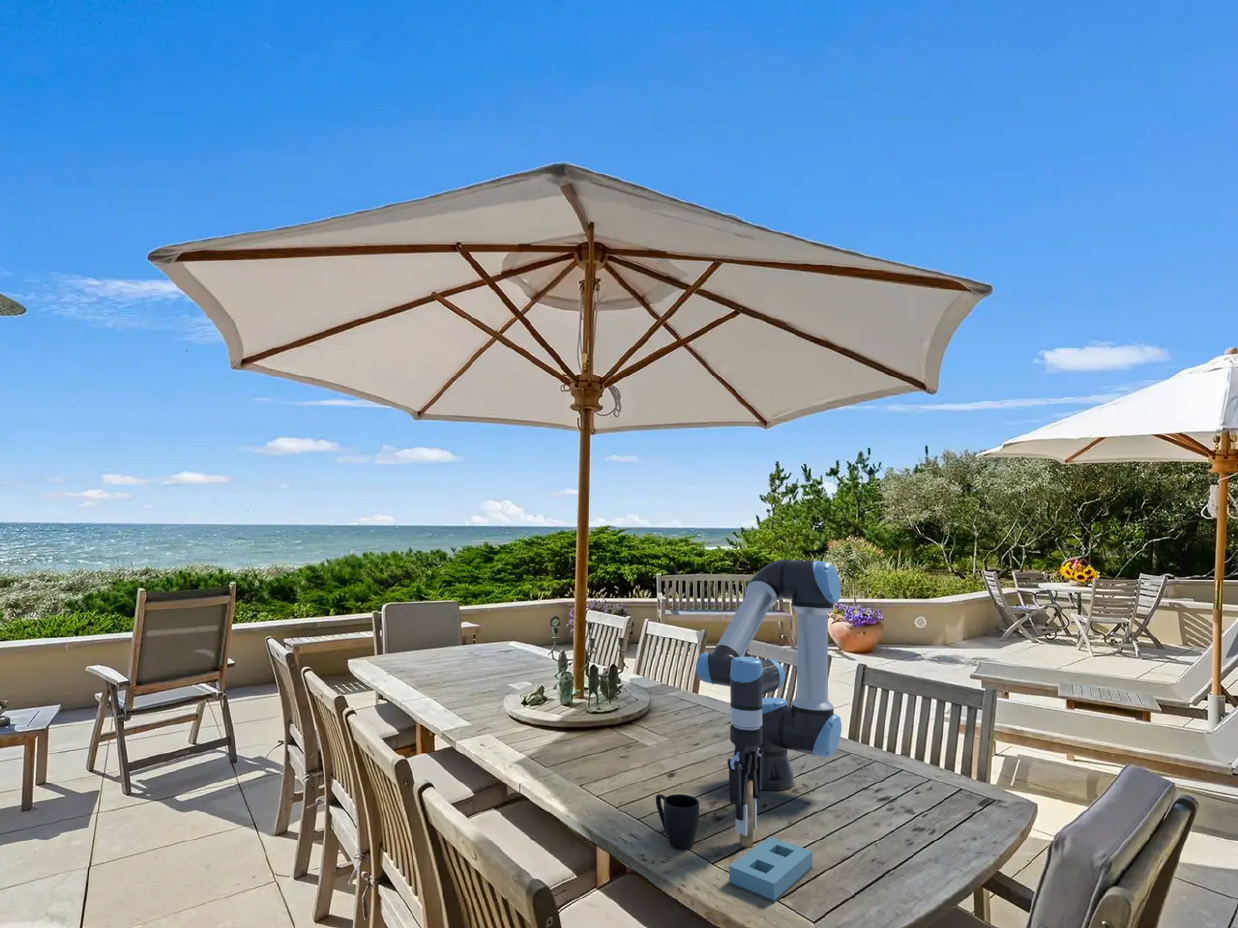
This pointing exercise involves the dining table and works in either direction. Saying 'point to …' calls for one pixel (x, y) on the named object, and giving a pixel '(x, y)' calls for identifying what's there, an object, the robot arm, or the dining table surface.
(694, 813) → the mug
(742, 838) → the dowel
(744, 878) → the bore slab
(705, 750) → the dining table surface
